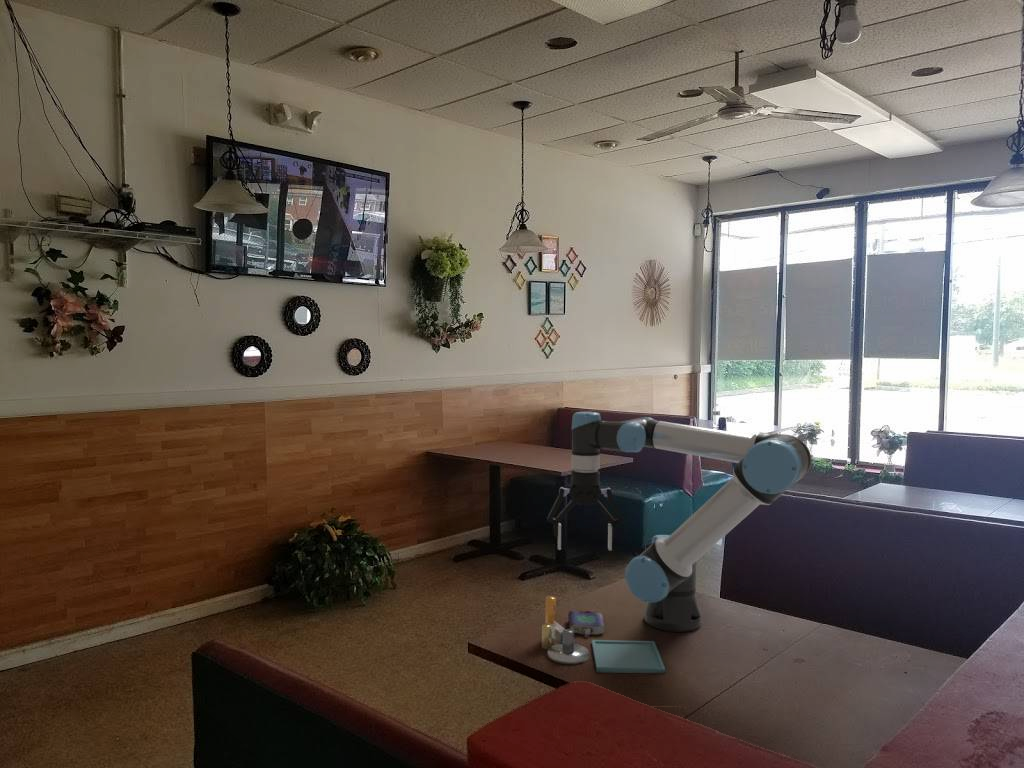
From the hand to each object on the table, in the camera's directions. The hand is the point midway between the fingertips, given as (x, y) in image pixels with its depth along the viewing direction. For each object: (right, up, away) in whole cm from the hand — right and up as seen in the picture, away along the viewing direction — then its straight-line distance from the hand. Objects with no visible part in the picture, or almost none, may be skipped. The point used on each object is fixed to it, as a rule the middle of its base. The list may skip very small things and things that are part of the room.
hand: (584, 548), depth 198 cm
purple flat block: (0, -21, +2) cm, 22 cm away
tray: (+8, -22, -20) cm, 31 cm away
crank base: (-6, -22, -19) cm, 29 cm away
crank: (-8, -19, -13) cm, 25 cm away
